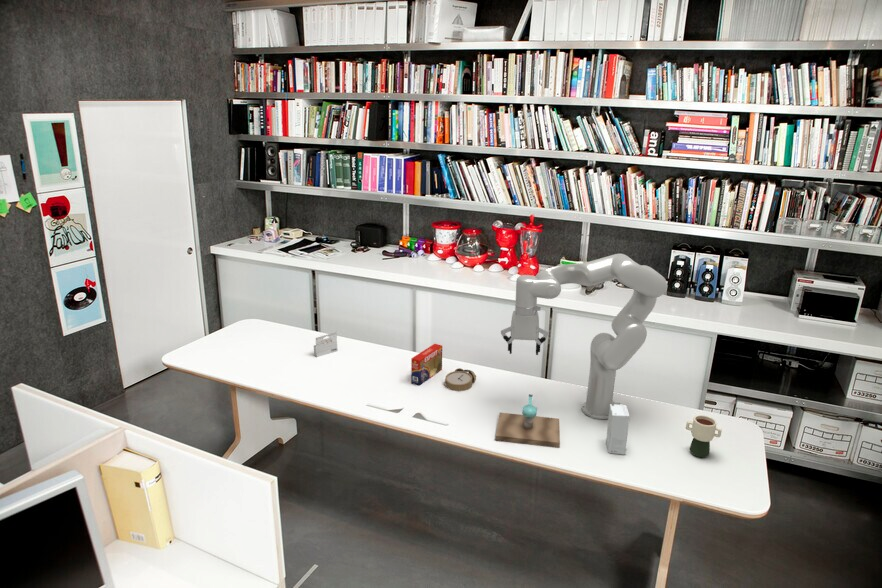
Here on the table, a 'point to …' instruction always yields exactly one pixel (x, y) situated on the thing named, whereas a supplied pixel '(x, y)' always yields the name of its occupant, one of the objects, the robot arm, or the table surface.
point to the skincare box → (617, 429)
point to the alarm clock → (460, 380)
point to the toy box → (426, 364)
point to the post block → (528, 430)
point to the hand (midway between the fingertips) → (523, 353)
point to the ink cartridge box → (325, 345)
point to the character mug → (702, 434)
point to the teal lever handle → (529, 409)
